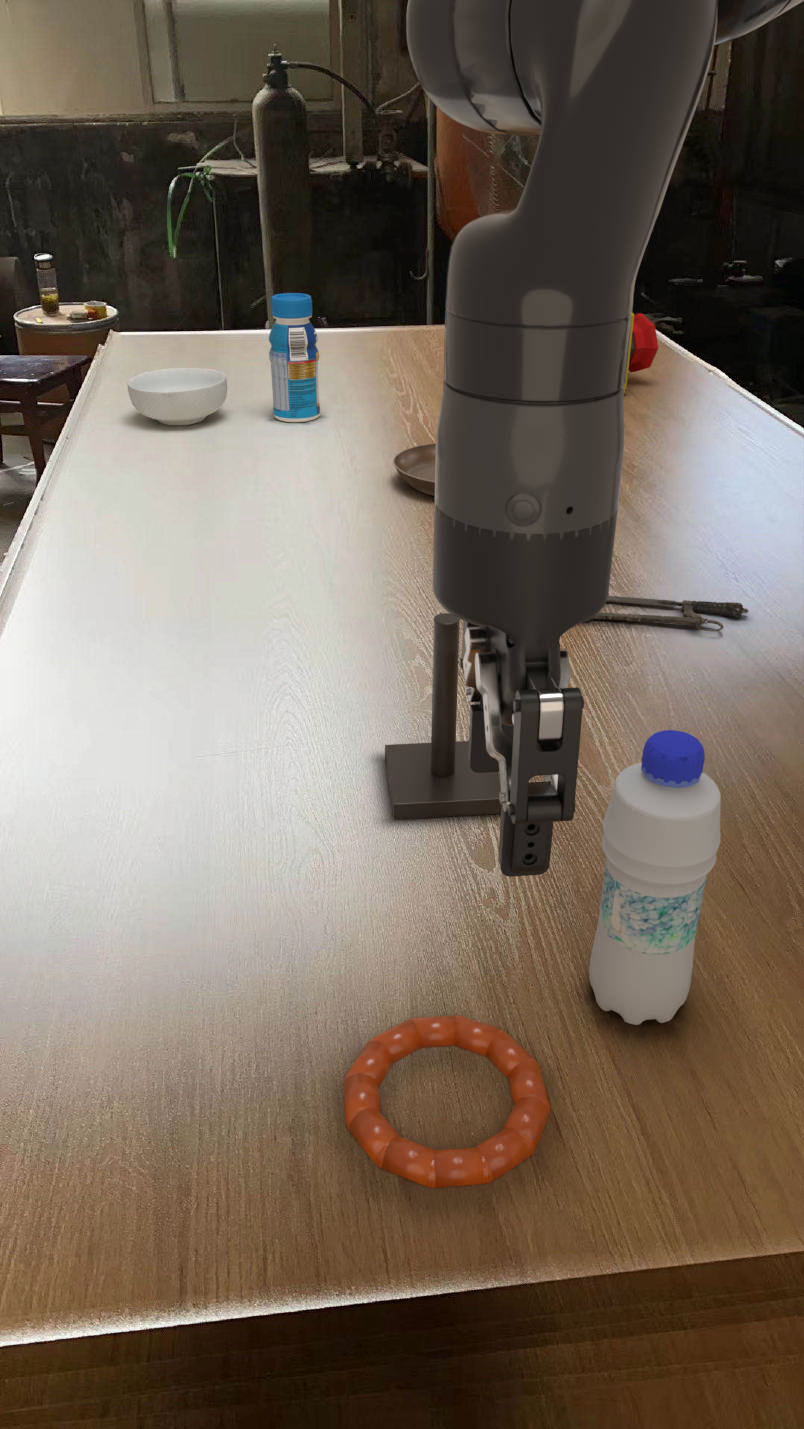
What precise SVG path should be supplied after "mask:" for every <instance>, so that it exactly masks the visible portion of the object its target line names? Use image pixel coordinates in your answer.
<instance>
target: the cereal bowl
mask: <svg viewBox="0 0 804 1429" xmlns="http://www.w3.org/2000/svg"><path fill="white" fill-rule="evenodd" d="M126 384H127V385H126V386H127V392H128V396H129V399H130V402H131V404H132V405H133V407H134V408H135V410H136V411H137V412H139V413H140V414H141V415H143V416H145V417H147V418H149V419H152V420H157V421H158V422H159V423H161V424H163V425H167V426H188V425H189V426H190V425H194V424H198V423H201V422H203V421H204V420H205V419H206V417H207V416H209V415H212V414H213V413H216V412H217V411H218V410H219V409H220V408H221V407H222V406H223V405H224V404H225V401H226V399H227V395H228V378H227V375H226V374H225V373H224V372H222V371H220V370H217V369H211V368H202V367H170V368H161V369H160V368H159V369H155V370H150V371H144V372H142V373H138V374H137V375H136V374H135V375H134V376H132V377H130V378H129V379H128V380H127V382H126Z"/></svg>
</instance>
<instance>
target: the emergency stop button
mask: <svg viewBox="0 0 804 1429" xmlns="http://www.w3.org/2000/svg"><path fill="white" fill-rule="evenodd" d="M631 314H632V322H631V332H630V341H629V350H628V360H627V369H626V378H625V384H624V389H626V391H624V395H625V394H626V393H627V387H628V376H629V373H635V372H639V371H642V370H643V371H644V370H646V369H649V368H651V366H652V364H653V363H654V362H653V361H654V360H655V358H656V357H655V356H656V354H657V353H658V350H659V342H658V337H657V330H656V325H655V324H654V322H652V321H651V320H650V319H649V318H648V317H646V315H645V314H644V313H643V312H642V313H641V312H640V313H634V311H633V312H632V313H631Z"/></svg>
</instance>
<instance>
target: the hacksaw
mask: <svg viewBox="0 0 804 1429" xmlns="http://www.w3.org/2000/svg"><path fill="white" fill-rule="evenodd" d="M606 602H608V603H609V602H612V603H625V604H636V605H637V604H638V605H650V606H651V605H652V606H664V607H681V609H677V612H680V611H682V610H683V614H684V616H676V615H675V616H673V615H672V616H671V615H655V614H638V613H637V614H636V613H635V614H634V613H633V614H632V613H615V612H599V613H597V614H596V615H595V616H594V617H592V618H591V619H589V620H587V621H586V622H590V621H593V620H608V621H613V620H614V621H627V622H629V621H630V622H638V623H640V622H646V623H653V624H654V623H660V624H674V625H681V626H694V628H696V629H699V630H702V631H706V632H720V631H722V630H723V629H724V625H723V623H722V622H720V621H718V620H713V619H708V618H707V617H706V618H704V617H702V615H700V614H697V613H696V612H700V613H701V612H702V613H710V614H718V615H726V616H728V617H733V618H734V617H735V618H740V617H742V614H748V613H749V611H750V610H749V609H748V608H745V607H743V606H744V605H743V604H742V602H732V601H730V602H729V601H725V602H724V601H723V602H720V601H719V602H717V601H706V600H705V601H704V600H698V601H696V600H682V602H681V601H676V600H669V599H656V598H642V597H627V596H615V595H608V598H607V601H606ZM708 624H713V625H718V626H719V628H718V629H704V628H700V627H698V626H700V625H708Z"/></svg>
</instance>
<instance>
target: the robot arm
mask: <svg viewBox="0 0 804 1429" xmlns="http://www.w3.org/2000/svg"><path fill="white" fill-rule="evenodd" d="M803 2H804V0H408V1H407V7H406V15H405V16H406V17H405V32H406V46H407V50H408V55H409V60H410V64H411V67H412V69H413V72H414V74H415V77H416V80H417V81H418V83H419V84H420V87H421V88H422V90H423V92H424V93H425V95H426V96H427V97H428V98H429V100H430V101H431V102H432V103H433V104H434V106H436V107H437V109H439V111H441V112H442V113H443V114H444V115H445V116H447V118H449V119H450V120H453V121H454V122H456V123H458V124H460V125H462V126H463V127H466V128H468V129H469V128H470V129H472V130H474V131H477V132H482V133H485V134H492V135H503V136H526V137H527V136H528V137H538V140H537V144H536V149H535V151H534V156H533V160H532V162H531V164H530V169H529V171H528V174H527V177H526V181H525V183H524V186H523V189H522V192H521V195H520V198H519V200H518V203H517V204H516V206H515V208H511V209H506V210H505V209H504V210H501V211H496V212H495V211H494V212H491V213H489V214H485V215H482V216H480V217H479V216H478V217H476V218H474V219H472V220H471V221H469V222H468V223H466V224H465V225H463V226H462V228H460V229H459V231H458V232H457V234H456V235H455V237H454V239H453V241H452V242H451V246H450V249H449V254H448V258H447V267H446V278H445V279H446V280H445V281H446V282H445V302H444V303H445V304H444V308H445V310H444V343H443V344H444V345H443V348H444V350H443V379H444V380H443V382H442V396H441V402H440V409H439V414H438V421H437V428H436V435H435V436H436V437H435V443H436V458H435V496H434V505H433V506H434V510H433V512H434V513H433V551H432V552H433V553H432V560H433V561H432V590H433V595H434V596H435V599H436V601H437V602H438V604H439V605H440V606H441V607H442V608H443V609H444V610H445V611H446V612H447V613H450V614H452V615H454V616H456V617H457V618H459V619H460V621H463V622H462V640H461V641H462V643H461V658H459V668H460V669H461V670H462V674H463V675H464V695H465V696H466V698H467V702H468V703H475V704H470V706H469V729H468V741H469V751H468V760H469V764H470V767H471V769H472V771H474V772H476V773H486V772H497V773H499V780H500V787H501V792H500V793H499V800H500V804H502V807H501V814H500V823H499V824H500V825H499V826H500V827H499V838H498V839H499V843H498V858H497V860H498V864H499V868H500V872H501V873H502V875H504V876H505V877H509V878H510V877H511V878H512V877H527V876H528V877H529V876H539V875H544V874H545V873H546V872H547V871H548V870H549V868H550V864H551V856H552V855H551V854H552V844H553V833H554V832H553V831H554V823H557V822H559V823H560V822H573V820H574V816H575V812H576V795H577V794H576V793H577V792H576V791H577V781H578V780H577V779H578V768H579V756H580V745H581V744H580V743H581V732H582V722H583V720H582V719H583V709H584V708H585V699H584V696H583V695H582V691H581V689H580V688H579V686H578V687H577V686H576V687H568V685H569V684H570V682H571V668H570V656H569V653H568V652H569V651H568V650H567V648H561V644H560V640H561V637H562V636H563V635H564V634H565V633H566V632H568V631H569V630H571V629H572V628H574V627H576V626H578V625H579V624H581V623H585V622H588V621H587V620H589V619H591V618H592V617H594V616H595V615H596V614H597V613H601V611H602V609H603V608H604V607H605V605H606V603H607V602H608V601H607V598H608V596H609V594H610V593H609V592H610V586H611V585H610V583H611V576H612V574H611V573H612V565H613V557H614V548H615V546H614V545H615V537H616V536H615V535H616V530H617V529H616V528H617V519H618V509H619V500H620V493H621V482H622V473H623V466H624V465H623V464H624V455H625V454H624V453H625V436H626V434H625V405H624V404H625V402H624V401H625V394H624V384H625V378H626V369H627V360H628V350H629V341H630V332H631V322H632V314H631V313H632V312H633V313H634V293H635V286H636V285H635V284H636V280H637V276H638V273H639V269H640V267H641V263H642V260H643V257H644V255H645V252H646V249H647V246H648V243H649V240H650V237H651V234H652V232H653V229H654V227H655V224H656V222H657V219H658V216H659V214H660V211H661V208H662V205H663V202H664V198H665V196H666V192H667V190H668V187H669V183H670V181H671V178H672V176H673V172H674V170H675V167H676V164H677V161H678V158H679V156H680V153H681V152H682V148H683V145H684V142H685V140H686V137H687V135H688V132H689V129H690V126H691V123H692V120H693V119H694V116H695V112H696V110H697V106H698V104H699V101H700V98H701V95H702V92H703V89H704V86H705V82H706V79H707V76H708V73H709V70H710V66H711V62H712V56H713V52H714V47H715V46H719V45H722V44H726V43H728V42H732V41H734V40H736V39H739V38H741V37H743V36H745V35H747V34H749V33H752V32H753V31H755V30H757V29H759V28H761V27H762V26H764V25H766V24H767V23H769V22H771V21H773V20H774V19H776V18H778V17H779V16H781V15H782V14H784V13H786V12H787V11H789V10H791V9H793V8H794V7H796V6H798V5H799V4H801V3H803ZM537 776H538V777H539V776H540V777H541V776H543V778H544V779H543V781H531V779H532V778H534V777H537Z"/></svg>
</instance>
